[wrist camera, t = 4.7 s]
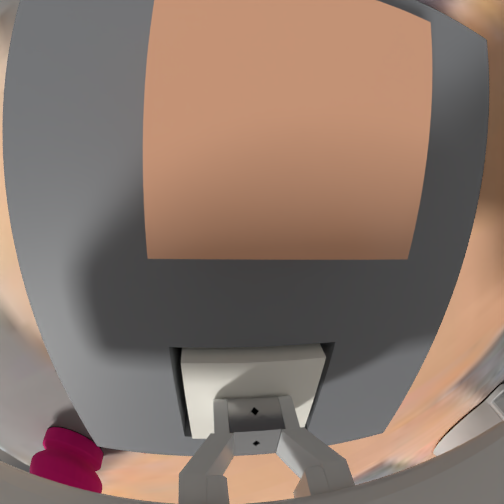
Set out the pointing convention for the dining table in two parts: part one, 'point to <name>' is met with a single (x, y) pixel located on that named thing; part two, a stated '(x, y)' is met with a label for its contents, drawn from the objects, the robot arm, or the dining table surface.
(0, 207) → the dining table surface
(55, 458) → the pepper mill
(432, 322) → the button console
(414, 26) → the tan cube
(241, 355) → the cream plunger
